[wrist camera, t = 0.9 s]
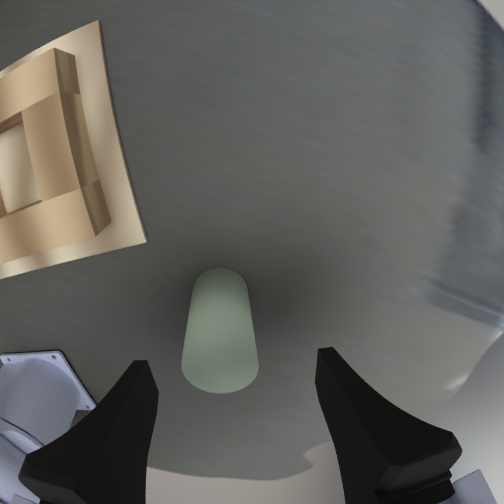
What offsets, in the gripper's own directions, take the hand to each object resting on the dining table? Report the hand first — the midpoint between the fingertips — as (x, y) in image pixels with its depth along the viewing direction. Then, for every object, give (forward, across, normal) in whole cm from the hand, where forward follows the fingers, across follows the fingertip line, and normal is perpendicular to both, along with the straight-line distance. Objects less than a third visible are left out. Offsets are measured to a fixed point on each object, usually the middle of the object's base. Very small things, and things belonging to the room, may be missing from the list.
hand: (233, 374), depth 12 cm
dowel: (+10, +1, +2) cm, 11 cm away
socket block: (+10, +14, -9) cm, 20 cm away
